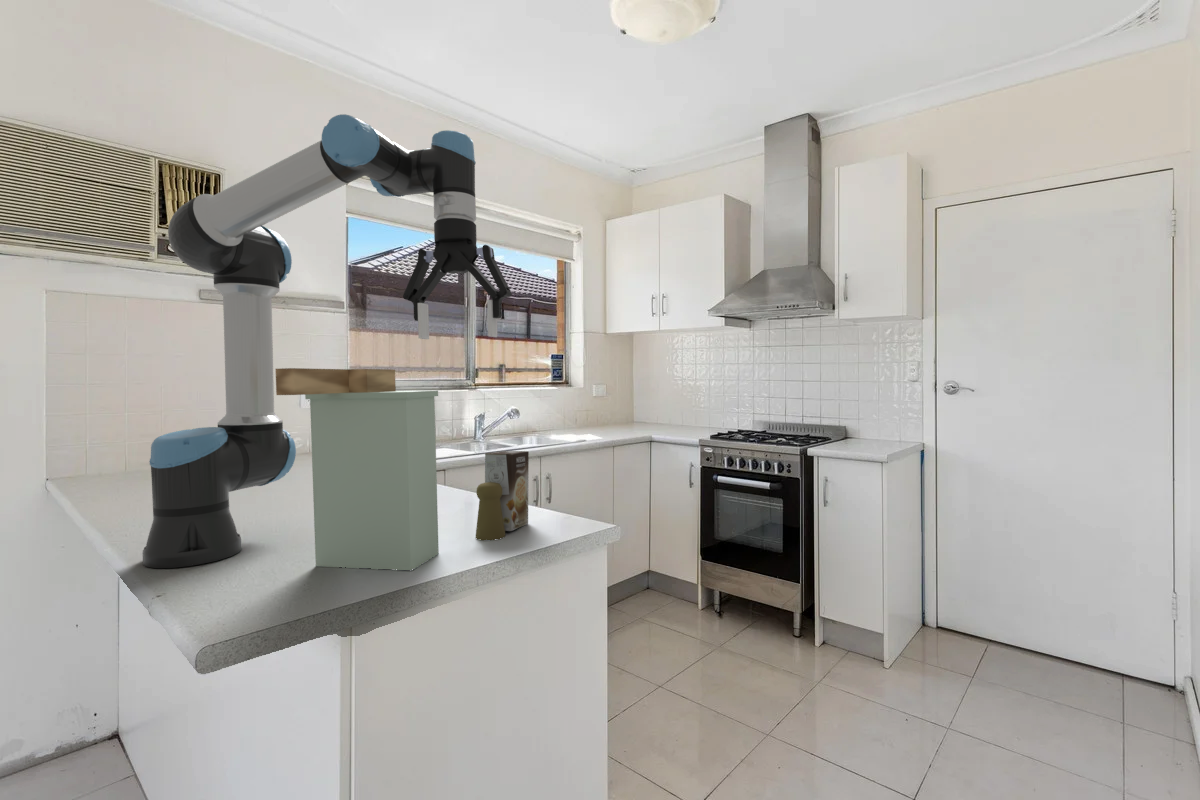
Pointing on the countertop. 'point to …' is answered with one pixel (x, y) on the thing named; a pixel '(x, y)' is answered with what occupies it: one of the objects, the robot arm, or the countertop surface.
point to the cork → (489, 512)
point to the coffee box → (510, 484)
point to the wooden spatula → (333, 381)
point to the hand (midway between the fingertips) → (457, 338)
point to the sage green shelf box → (374, 479)
